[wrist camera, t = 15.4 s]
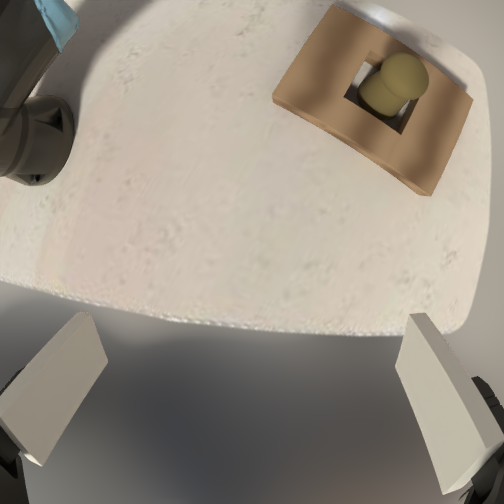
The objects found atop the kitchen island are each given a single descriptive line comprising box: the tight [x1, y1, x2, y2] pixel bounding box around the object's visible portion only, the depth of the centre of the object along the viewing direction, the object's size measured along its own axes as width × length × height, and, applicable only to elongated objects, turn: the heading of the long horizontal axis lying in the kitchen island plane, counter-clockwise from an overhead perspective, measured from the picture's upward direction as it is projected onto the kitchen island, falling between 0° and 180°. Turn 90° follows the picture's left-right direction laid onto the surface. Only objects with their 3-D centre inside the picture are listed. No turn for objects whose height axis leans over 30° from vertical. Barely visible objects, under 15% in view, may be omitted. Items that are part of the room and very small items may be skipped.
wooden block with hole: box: [272, 4, 473, 196], centre depth 30 cm, size 22×16×4 cm
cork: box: [357, 52, 429, 120], centre depth 26 cm, size 6×6×11 cm
